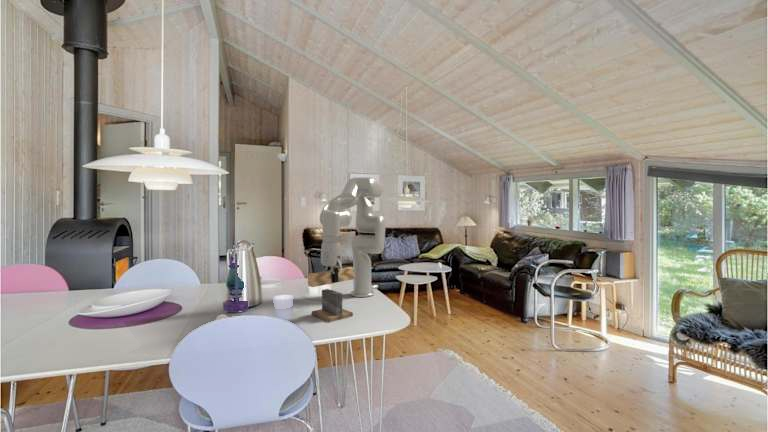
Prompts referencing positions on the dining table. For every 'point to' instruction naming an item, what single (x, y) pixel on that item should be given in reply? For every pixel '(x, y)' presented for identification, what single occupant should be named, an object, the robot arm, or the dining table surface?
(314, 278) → the oak bar
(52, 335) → the dining table surface
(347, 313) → the stand
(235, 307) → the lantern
